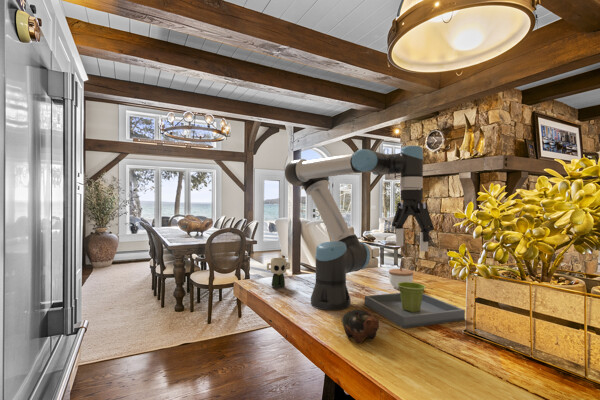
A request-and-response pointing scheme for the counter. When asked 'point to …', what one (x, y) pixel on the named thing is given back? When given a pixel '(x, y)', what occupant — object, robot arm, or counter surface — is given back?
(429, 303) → the walled tray
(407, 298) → the plant pot
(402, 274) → the lidded jar
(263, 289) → the counter surface
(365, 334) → the decorative turtle
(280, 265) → the character mug
